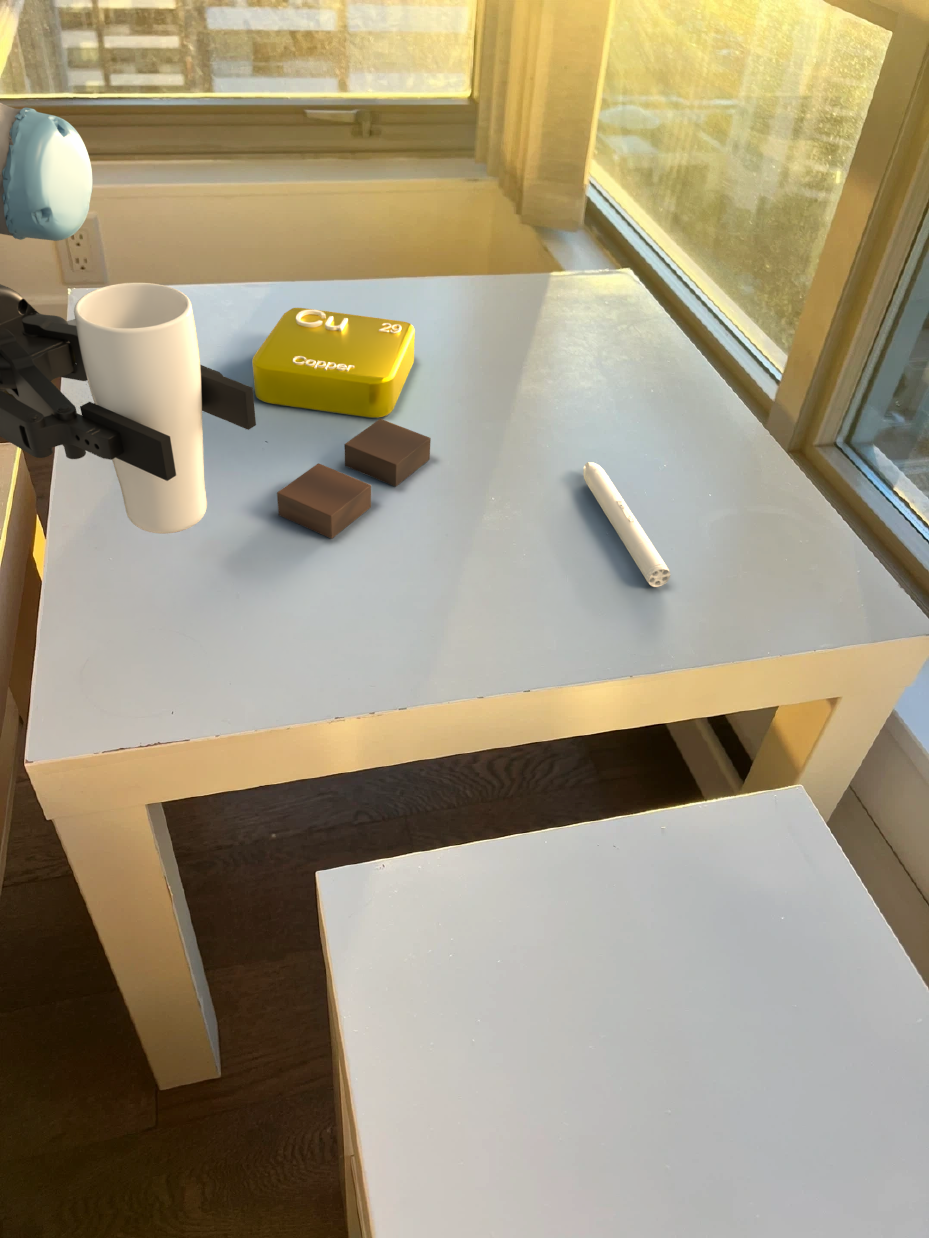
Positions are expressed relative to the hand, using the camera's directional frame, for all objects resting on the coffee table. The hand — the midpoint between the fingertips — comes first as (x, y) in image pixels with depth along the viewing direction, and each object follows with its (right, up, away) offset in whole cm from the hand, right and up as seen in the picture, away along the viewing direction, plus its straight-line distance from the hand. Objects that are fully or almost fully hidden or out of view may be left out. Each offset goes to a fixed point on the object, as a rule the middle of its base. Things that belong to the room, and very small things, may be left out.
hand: (210, 432), depth 59 cm
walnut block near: (+3, -2, +29) cm, 29 cm away
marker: (+30, -3, +30) cm, 43 cm away
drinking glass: (-5, -4, +7) cm, 10 cm away
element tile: (+2, +15, +47) cm, 50 cm away
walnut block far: (+8, +4, +35) cm, 36 cm away
